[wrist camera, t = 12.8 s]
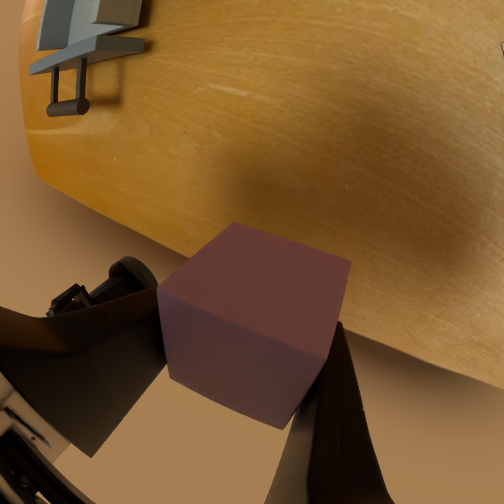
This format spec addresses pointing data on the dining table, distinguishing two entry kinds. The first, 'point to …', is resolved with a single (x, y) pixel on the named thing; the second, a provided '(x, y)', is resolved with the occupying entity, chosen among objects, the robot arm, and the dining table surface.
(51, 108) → the drawer
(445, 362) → the dining table surface
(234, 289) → the cube
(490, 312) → the dining table surface
